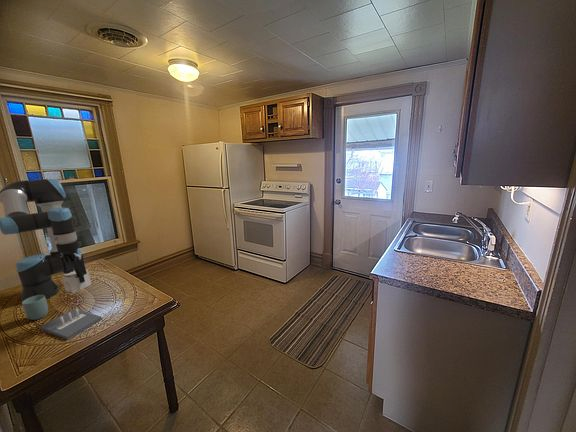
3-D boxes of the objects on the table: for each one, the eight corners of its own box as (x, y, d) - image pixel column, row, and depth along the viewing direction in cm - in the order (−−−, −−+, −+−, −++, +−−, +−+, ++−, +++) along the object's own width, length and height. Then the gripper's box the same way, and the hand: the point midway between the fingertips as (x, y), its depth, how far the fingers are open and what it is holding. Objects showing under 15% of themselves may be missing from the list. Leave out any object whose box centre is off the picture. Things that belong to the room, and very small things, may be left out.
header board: (40, 329, 110) (36, 318, 108) (75, 311, 122) (72, 300, 121) (67, 339, 103) (64, 327, 101) (102, 319, 116) (99, 308, 114)
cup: (53, 313, 121) (48, 296, 118) (33, 323, 114) (27, 305, 111) (44, 310, 123) (38, 293, 121) (23, 320, 116) (17, 302, 114)
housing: (65, 291, 113) (61, 275, 111) (84, 283, 120) (80, 268, 118) (73, 293, 111) (68, 277, 110) (91, 284, 119) (87, 269, 117)
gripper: (44, 242, 110) (57, 288, 115) (70, 246, 104) (83, 294, 110) (63, 237, 117) (75, 281, 122) (89, 240, 111) (100, 286, 116)
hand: (78, 287), depth 116 cm, fingers closed on housing, 5 cm apart
